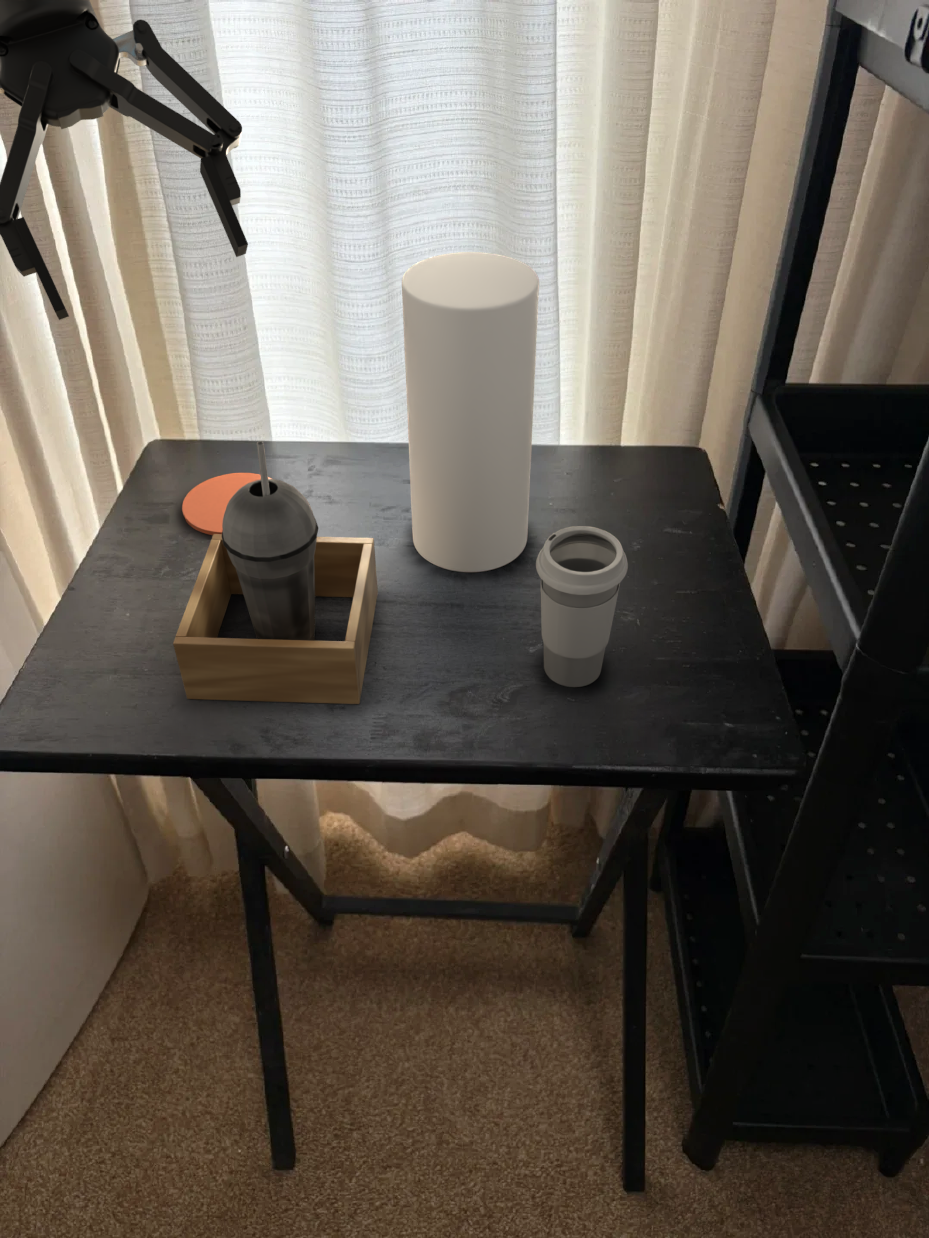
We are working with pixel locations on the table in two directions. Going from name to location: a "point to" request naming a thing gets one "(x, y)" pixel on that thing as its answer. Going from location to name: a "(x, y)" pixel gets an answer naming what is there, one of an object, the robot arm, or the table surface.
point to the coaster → (213, 501)
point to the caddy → (279, 663)
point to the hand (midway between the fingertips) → (154, 282)
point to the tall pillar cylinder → (470, 406)
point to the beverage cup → (273, 555)
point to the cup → (578, 601)
